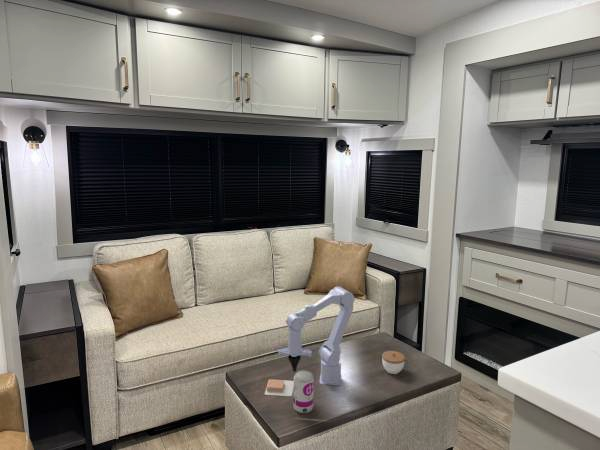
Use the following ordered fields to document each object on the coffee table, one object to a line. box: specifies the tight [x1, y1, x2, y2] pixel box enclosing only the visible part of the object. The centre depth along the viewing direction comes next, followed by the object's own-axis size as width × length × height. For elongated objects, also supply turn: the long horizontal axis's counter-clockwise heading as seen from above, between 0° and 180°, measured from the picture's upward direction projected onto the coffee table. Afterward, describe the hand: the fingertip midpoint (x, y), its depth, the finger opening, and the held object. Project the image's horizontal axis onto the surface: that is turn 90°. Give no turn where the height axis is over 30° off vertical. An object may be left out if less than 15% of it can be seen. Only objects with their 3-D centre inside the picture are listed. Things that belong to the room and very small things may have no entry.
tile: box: [266, 379, 284, 391], centre depth 182 cm, size 2×6×7 cm
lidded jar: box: [381, 350, 406, 375], centre depth 198 cm, size 11×11×9 cm
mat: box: [264, 379, 294, 397], centre depth 182 cm, size 12×12×1 cm
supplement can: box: [292, 369, 315, 414], centre depth 167 cm, size 8×8×15 cm
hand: (294, 370), depth 180 cm, fingers closed
